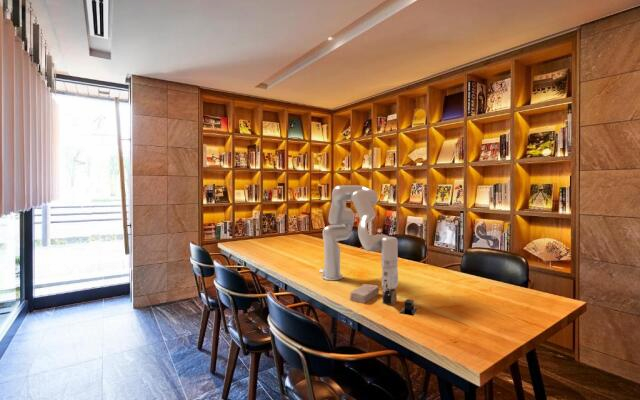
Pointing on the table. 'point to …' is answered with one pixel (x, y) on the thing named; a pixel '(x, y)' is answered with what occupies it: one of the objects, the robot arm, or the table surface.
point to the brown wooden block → (393, 296)
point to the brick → (364, 293)
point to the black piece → (409, 308)
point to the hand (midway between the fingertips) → (389, 300)
